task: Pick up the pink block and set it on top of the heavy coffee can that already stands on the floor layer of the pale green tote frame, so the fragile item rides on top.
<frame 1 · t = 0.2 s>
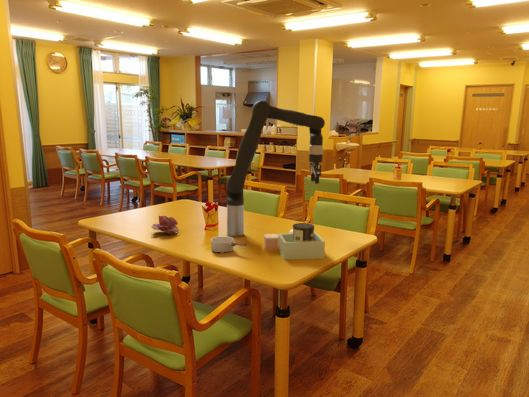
hand: (314, 182, 231), 29 cm above the table, fingers open, 8 cm apart
coffee can: (302, 254, 198), resting in tote
pink block: (270, 248, 206), on the table
unicorn horn: (304, 242, 219), on the table
flower: (165, 233, 232), on the table
tote: (300, 253, 199), on the table
saucepan: (229, 252, 201), on the table
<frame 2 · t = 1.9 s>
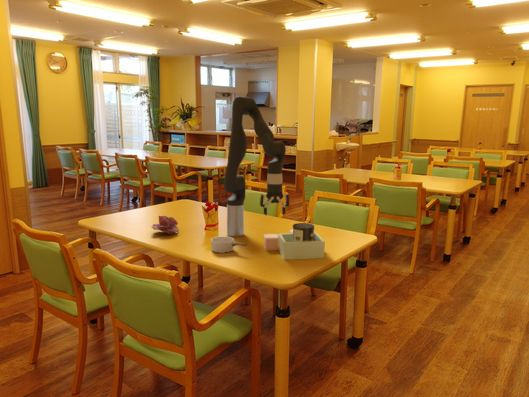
hand: (274, 214, 205), 17 cm above the table, fingers open, 8 cm apart
nothing on the table moved.
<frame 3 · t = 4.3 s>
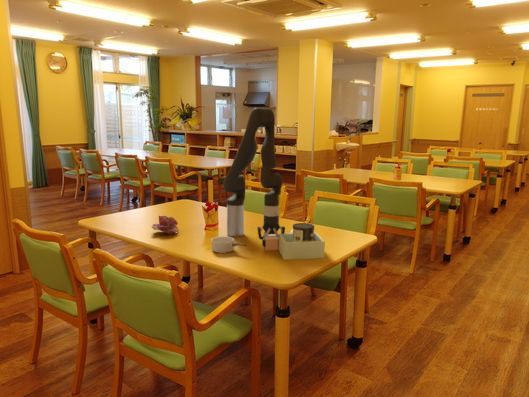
hand: (271, 246, 206), 1 cm above the table, fingers closed on pink block, 6 cm apart
pink block: (270, 248, 206), on the table, touching gripper
everything else where it was.
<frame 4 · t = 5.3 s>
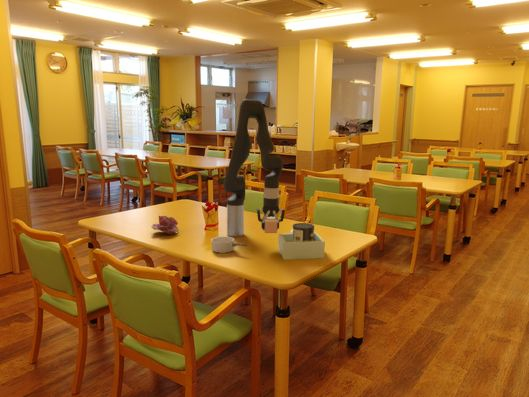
hand: (270, 229, 205), 10 cm above the table, fingers closed on pink block, 6 cm apart
pink block: (270, 231, 205), point 9 cm above the table, touching gripper
everything else where it was.
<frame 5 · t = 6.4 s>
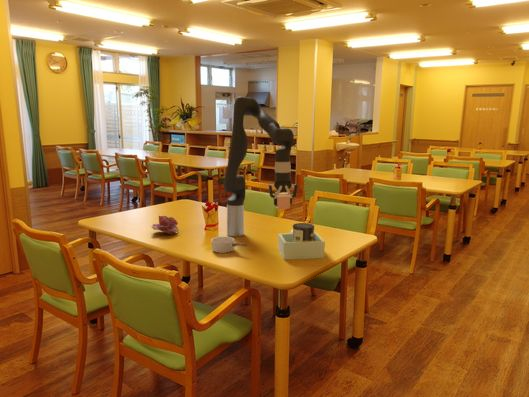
hand: (282, 205, 199), 23 cm above the table, fingers closed on pink block, 6 cm apart
pink block: (282, 207, 199), point 22 cm above the table, touching gripper
everything else where it was.
when the fingers open (16 cm above the table, at t = 8.5 s): pink block drops 1 cm, resting on coffee can.
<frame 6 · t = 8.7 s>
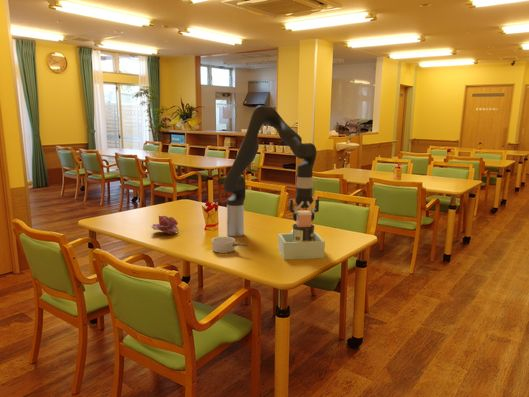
hand: (303, 220, 195), 16 cm above the table, fingers open, 7 cm apart
coffee can: (302, 254, 198), resting in tote, touching pink block
pink block: (303, 225, 196), point 14 cm above the table, touching coffee can
everything else where it was.
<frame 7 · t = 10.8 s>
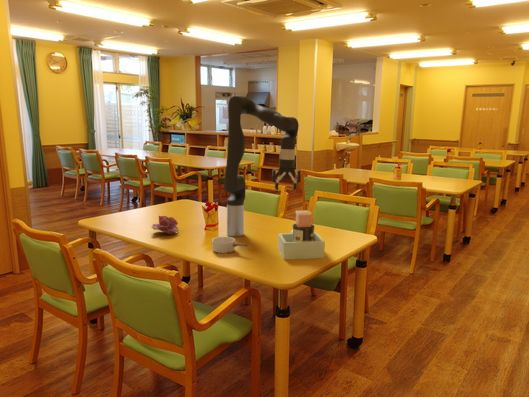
hand: (285, 190, 207), 28 cm above the table, fingers open, 8 cm apart
nothing on the table moved.
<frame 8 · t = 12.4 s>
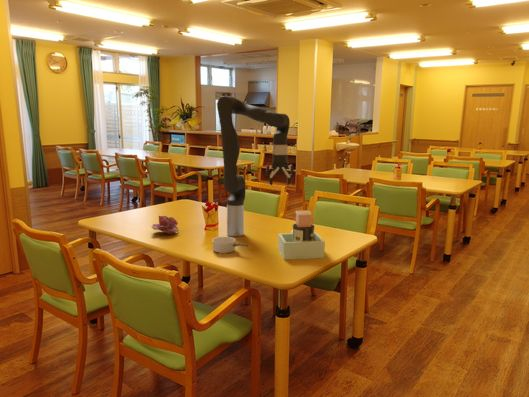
hand: (279, 185, 213), 30 cm above the table, fingers open, 8 cm apart
at the end: pink block inside the target area on the coffee can (0.1 cm from its centre), point 14.3 cm above the coffee can's base; pink block tilted 0°; the gripper is holding nothing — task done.
